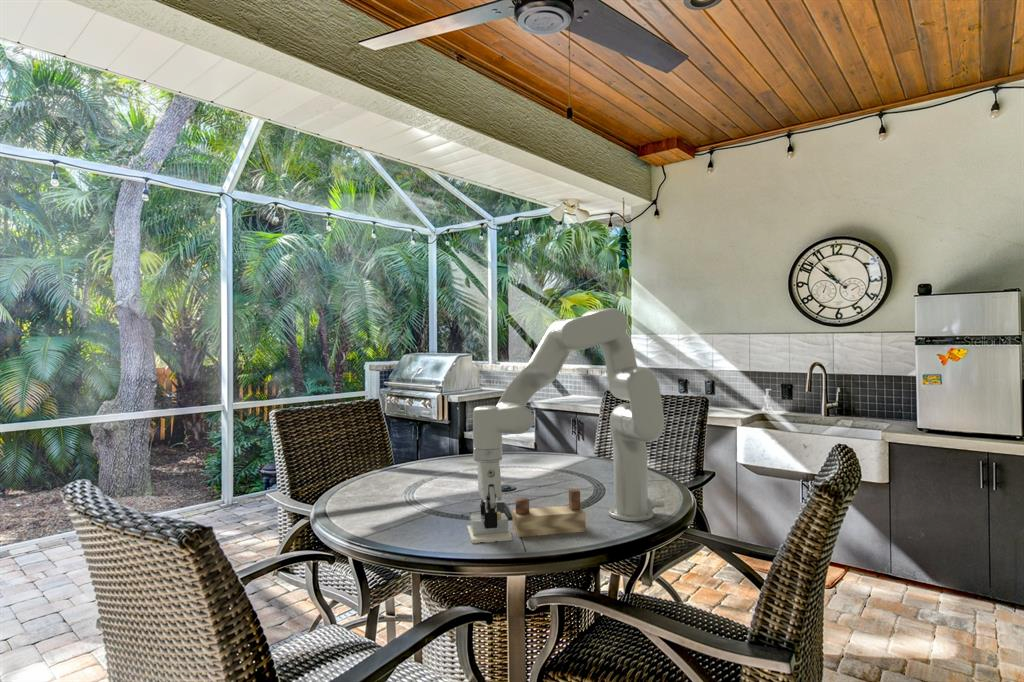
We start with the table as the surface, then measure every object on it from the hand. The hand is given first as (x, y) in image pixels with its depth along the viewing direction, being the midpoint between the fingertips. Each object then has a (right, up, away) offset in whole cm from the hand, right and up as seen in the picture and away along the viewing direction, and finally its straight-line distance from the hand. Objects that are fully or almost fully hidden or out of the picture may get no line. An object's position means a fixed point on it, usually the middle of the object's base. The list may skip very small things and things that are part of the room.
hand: (488, 523), depth 149 cm
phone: (+1, -4, +20) cm, 20 cm away
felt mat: (0, -3, 0) cm, 3 cm away
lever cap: (0, -2, 0) cm, 2 cm away
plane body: (+16, -3, +3) cm, 16 cm away
